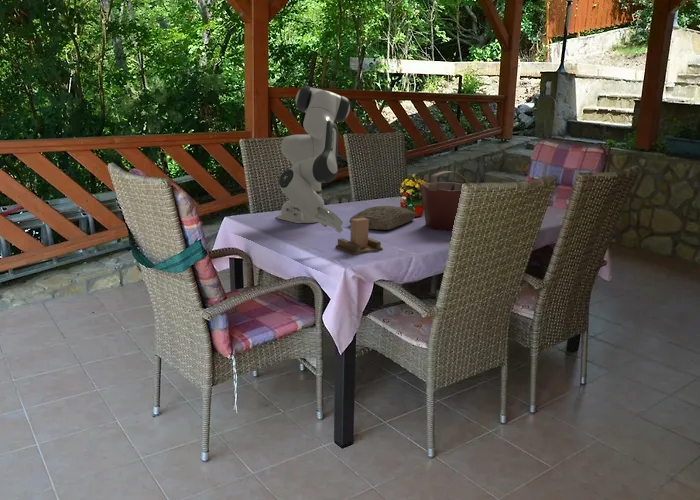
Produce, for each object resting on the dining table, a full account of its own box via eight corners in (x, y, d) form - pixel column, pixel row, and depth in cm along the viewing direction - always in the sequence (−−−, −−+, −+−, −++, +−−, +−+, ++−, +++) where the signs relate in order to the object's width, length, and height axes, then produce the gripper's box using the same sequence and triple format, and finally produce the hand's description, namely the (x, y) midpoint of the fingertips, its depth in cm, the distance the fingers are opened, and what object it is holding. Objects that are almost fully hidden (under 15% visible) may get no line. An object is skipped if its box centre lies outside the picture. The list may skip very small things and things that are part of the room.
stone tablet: (378, 215, 308) (347, 226, 283) (379, 198, 305) (348, 208, 280) (416, 221, 298) (387, 234, 273) (417, 204, 296) (388, 215, 271)
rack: (353, 254, 239) (353, 246, 238) (335, 247, 248) (335, 239, 247) (382, 249, 247) (382, 241, 246) (363, 242, 256) (364, 234, 255)
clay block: (355, 248, 244) (356, 221, 241) (350, 246, 247) (351, 219, 244) (367, 246, 248) (368, 219, 245) (362, 244, 250) (363, 217, 247)
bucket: (433, 234, 273) (437, 176, 267) (408, 222, 293) (411, 169, 286) (480, 229, 284) (485, 174, 277) (452, 219, 303) (456, 167, 296)
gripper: (333, 204, 222) (354, 227, 231) (302, 193, 238) (323, 216, 246) (322, 218, 221) (344, 241, 229) (292, 206, 237) (313, 228, 245)
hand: (333, 228), depth 238 cm, fingers open, 8 cm apart
